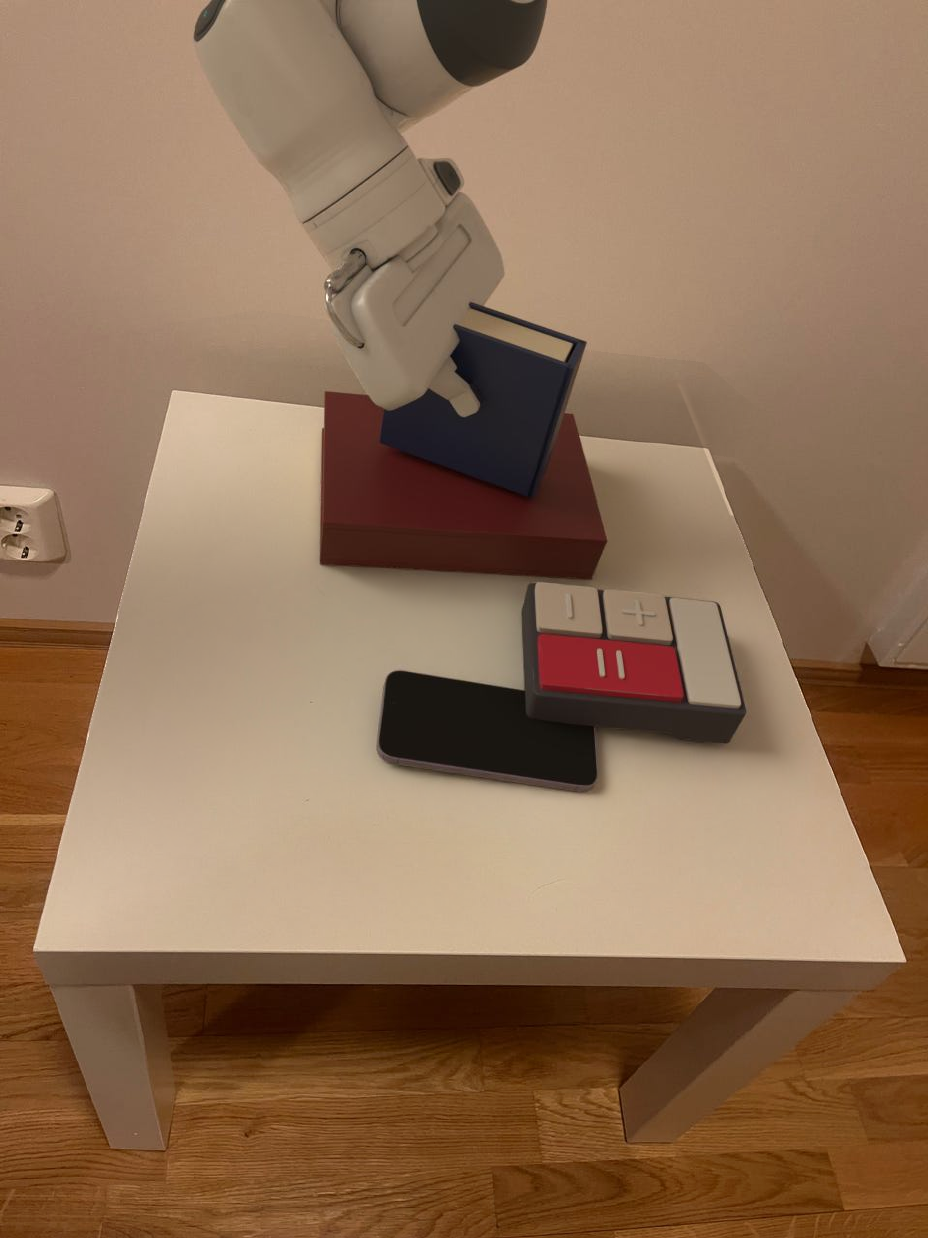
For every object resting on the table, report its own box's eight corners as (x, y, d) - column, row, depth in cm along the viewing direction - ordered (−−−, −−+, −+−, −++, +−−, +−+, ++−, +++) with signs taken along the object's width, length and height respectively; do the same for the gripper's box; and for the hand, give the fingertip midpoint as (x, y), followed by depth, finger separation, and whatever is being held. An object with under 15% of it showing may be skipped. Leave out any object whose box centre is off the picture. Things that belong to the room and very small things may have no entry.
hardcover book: (533, 498, 71) (574, 368, 62) (378, 442, 73) (397, 307, 64) (546, 470, 74) (587, 341, 65) (397, 416, 75) (417, 282, 66)
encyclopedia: (319, 564, 70) (323, 522, 67) (321, 432, 80) (324, 390, 77) (591, 579, 74) (607, 540, 71) (560, 452, 84) (573, 413, 81)
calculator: (529, 573, 68) (723, 594, 69) (519, 613, 71) (705, 632, 72) (534, 687, 60) (752, 708, 62) (523, 726, 64) (731, 745, 65)
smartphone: (599, 790, 60) (375, 756, 58) (594, 798, 61) (373, 765, 59) (593, 700, 65) (386, 666, 63) (588, 709, 66) (384, 676, 64)
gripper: (351, 267, 53) (475, 454, 60) (462, 151, 67) (553, 313, 73) (279, 311, 57) (404, 482, 63) (398, 192, 71) (491, 343, 77)
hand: (485, 390), depth 68 cm, fingers closed on hardcover book, 4 cm apart
